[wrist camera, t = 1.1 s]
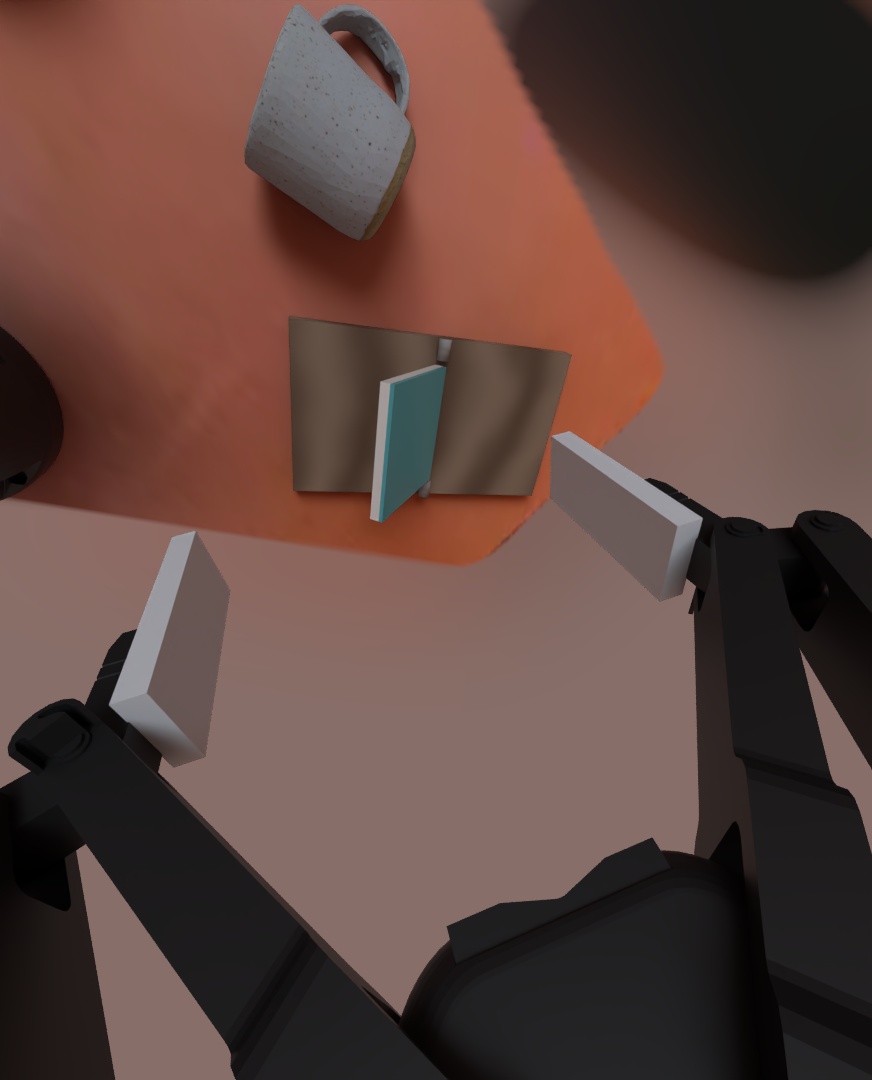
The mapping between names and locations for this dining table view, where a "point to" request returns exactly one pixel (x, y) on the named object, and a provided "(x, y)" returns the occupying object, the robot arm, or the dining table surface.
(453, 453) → the hinge board
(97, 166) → the dining table surface
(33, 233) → the dining table surface
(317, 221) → the dining table surface
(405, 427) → the tile
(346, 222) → the ceramic mug
